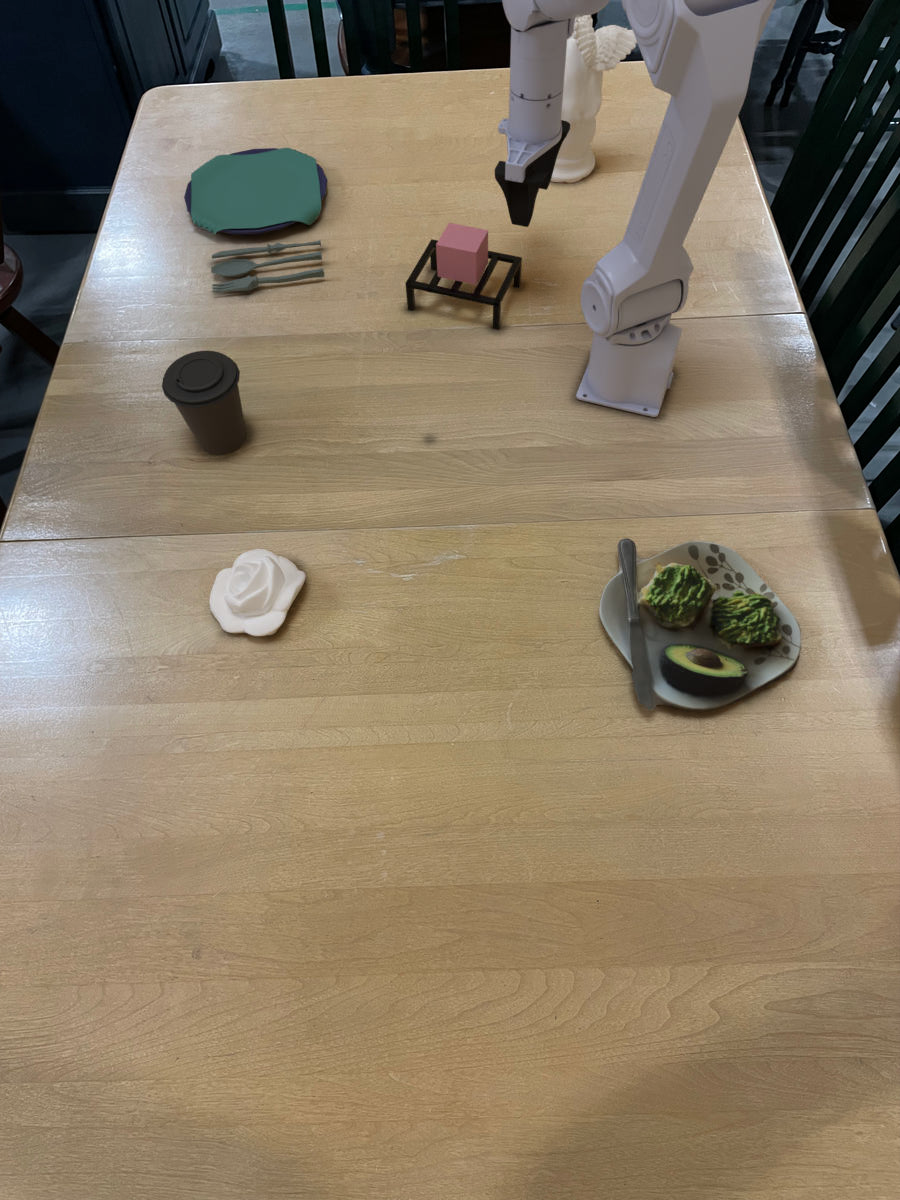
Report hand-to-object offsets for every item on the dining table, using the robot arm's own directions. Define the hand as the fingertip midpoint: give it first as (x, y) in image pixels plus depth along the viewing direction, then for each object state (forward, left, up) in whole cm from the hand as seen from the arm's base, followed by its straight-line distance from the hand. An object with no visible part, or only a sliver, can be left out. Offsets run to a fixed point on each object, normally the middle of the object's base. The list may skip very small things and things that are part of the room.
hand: (530, 205), depth 101 cm
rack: (+6, +7, -9) cm, 13 cm away
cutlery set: (+38, +1, -10) cm, 39 cm away
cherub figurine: (0, -24, -10) cm, 26 cm away
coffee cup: (+24, +38, -10) cm, 46 cm away
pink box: (+6, +7, -5) cm, 11 cm away
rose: (+10, +56, -10) cm, 58 cm away
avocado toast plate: (-31, +46, -10) cm, 56 cm away
